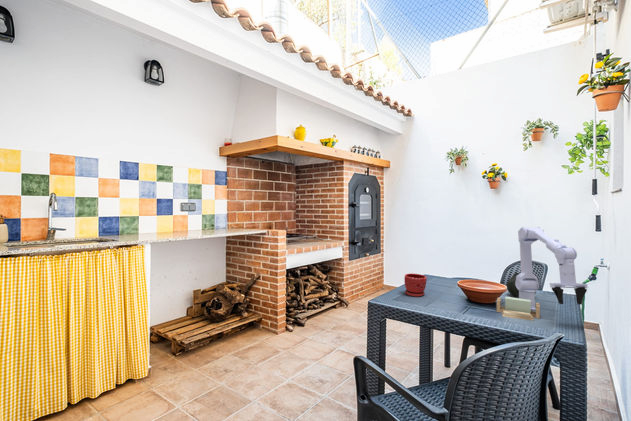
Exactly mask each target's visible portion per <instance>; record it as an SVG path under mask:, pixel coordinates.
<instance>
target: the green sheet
mask: <svg viewBox="0 0 631 421" xmlns="http://www.w3.org/2000/svg"><path fill="white" fill-rule="evenodd" d="M512 297H513V296H505V297H504V300H505V302H504V304H505V305H504V307H505V310H509V311H516V312H524V313H530V314H531V311H532V309H531V300H527V299H520V298H519V297H514V298H512Z"/></svg>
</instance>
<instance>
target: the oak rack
mask: <svg viewBox="0 0 631 421" xmlns="http://www.w3.org/2000/svg"><path fill="white" fill-rule="evenodd" d="M535 309H536V310H531V315H532V316H533V319H537V320H538V319H541V318H540V314H541V305H540V302H535ZM503 310H505V306H502V298H501V297H497V298H496V313H501V314H502V313H503ZM508 311H509V310H508Z"/></svg>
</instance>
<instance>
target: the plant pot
mask: <svg viewBox="0 0 631 421" xmlns="http://www.w3.org/2000/svg"><path fill="white" fill-rule="evenodd" d="M426 286H427V276H425V275H424V274H419V273H406V274H404V287H405V290H404V292H405V294H406V295H408V296H411V297H422V296H424V295H425V290H426Z"/></svg>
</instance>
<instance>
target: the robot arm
mask: <svg viewBox="0 0 631 421" xmlns="http://www.w3.org/2000/svg"><path fill="white" fill-rule="evenodd" d="M517 233H518V234H517V235H518V242H519V256H520V272H519V273H520V274H519V275H517V276H516V282H515V285H516V288H517V289H518V290H519V297H518V298H520V299H527V300H531V311H536V302H535V299H536V298H535V295H536V293H537V291H538V289H539V287H540V284H539V283H540V282H539V281H538V277H537V276H536V275H535V274H534V273H533V256H532V255H533V254H532V244H533V243H535V242H537V241H540V242H542V243H543V244H545V247H546V248H547V249H548V250H549V251H550V252H551V253H553V254H554V257H555V259H556V262H557V264H558V268H559V269H558V271H559V281H560V282H549V286H550V287H549V288H551V291H552V292H553V293H554V295H555V296H556V299H557V302H558V304H560V305H564V289H565V288H566V289H567V288H568V289H569V288H570V289H573V290H574V293H575V297H576V298H575V300H576V305H580V306H581V305H583V300H584V297H585V294H586V293H587V291H588V290H587V289H588V284H587V283H577V280H576V267H575V260H576V259H577V257H578V255H577V254H578V253H577V251H576V249H575V248H574V247H572V246H571V247H568V246H566V244H563V243H562V242H561V241H560V240H559V239H557V238H552V237H550V236H549V235H548V234H546V233H545V232H544V229H543V228H541V227H540V226H537V227H533V226H532V227H531V226H530V227H529V226H528V227H527V226H526V227H525V226H522V227H520V228H519V230H518V231H517ZM525 278H530V279H525ZM535 292H536V293H535Z"/></svg>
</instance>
